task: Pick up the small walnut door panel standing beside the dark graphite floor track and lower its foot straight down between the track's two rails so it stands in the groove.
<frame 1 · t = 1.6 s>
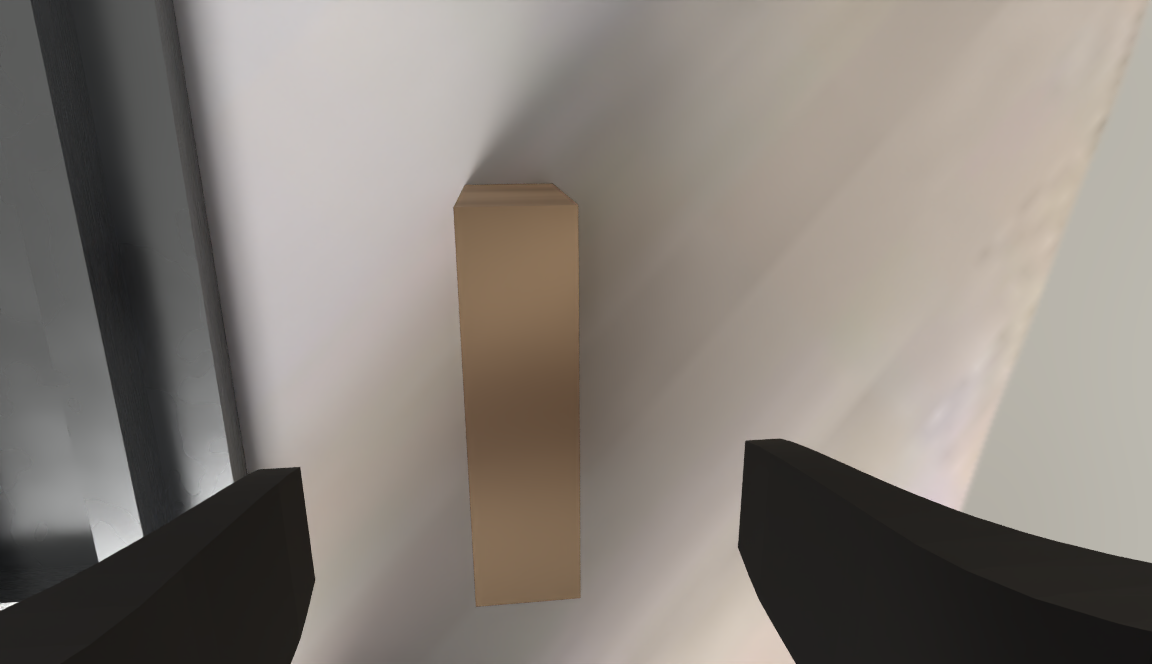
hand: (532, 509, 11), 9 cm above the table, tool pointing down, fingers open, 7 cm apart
door panel: (514, 339, 20), on the table
floor track: (17, 288, 18), on the table
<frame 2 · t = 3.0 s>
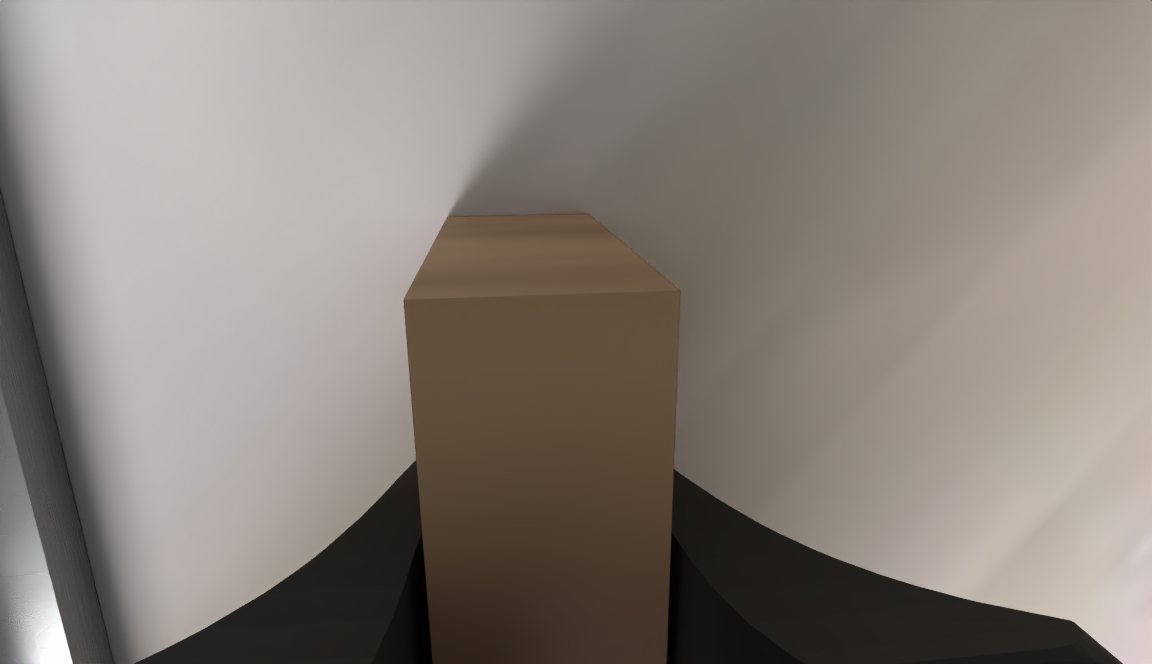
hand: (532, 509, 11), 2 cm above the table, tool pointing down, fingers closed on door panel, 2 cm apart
door panel: (526, 455, 13), on the table, touching gripper
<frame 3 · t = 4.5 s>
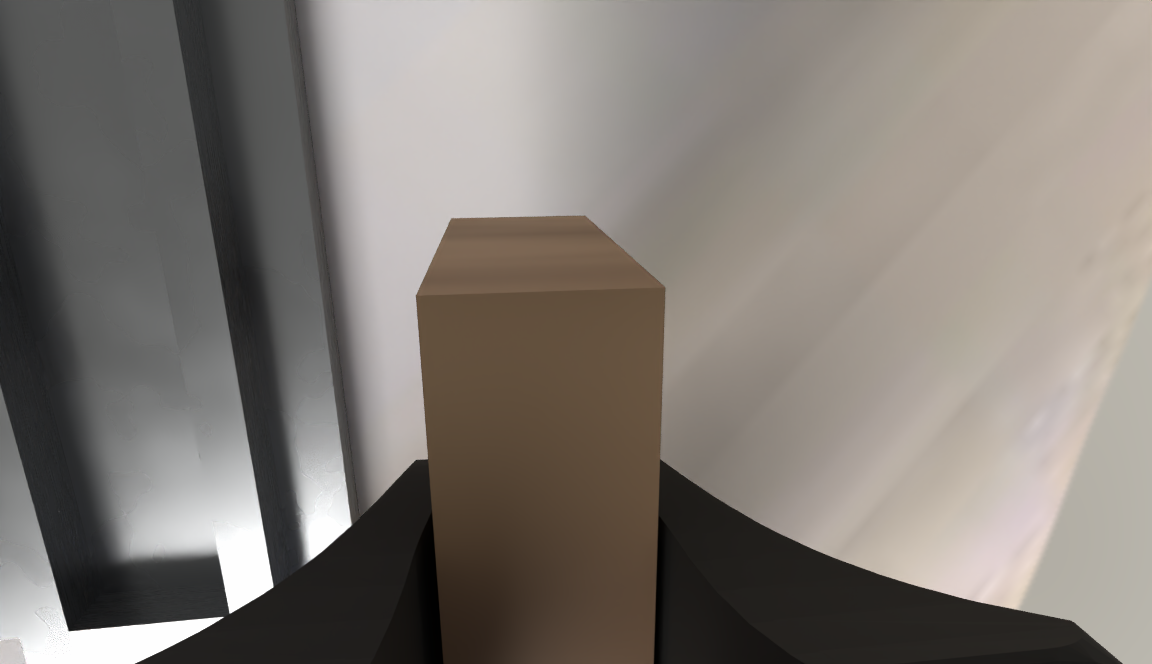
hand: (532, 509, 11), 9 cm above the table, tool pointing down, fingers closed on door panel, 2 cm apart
door panel: (525, 445, 14), point 6 cm above the table, touching gripper
floor track: (137, 311, 18), on the table
when the fingers open (4 cm above the table, at t = 6.1 s): door panel stays where it is, resting on floor track.
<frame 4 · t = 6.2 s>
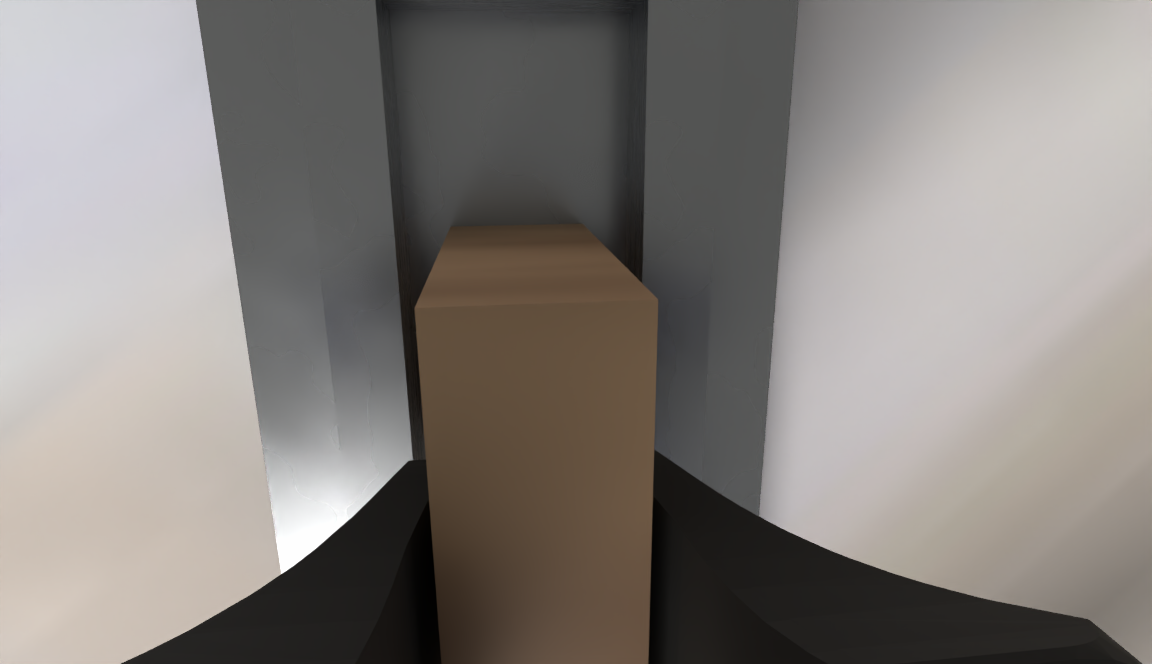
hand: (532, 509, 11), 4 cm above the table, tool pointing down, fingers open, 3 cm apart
door panel: (524, 450, 14), point 1 cm above the table, touching floor track
floor track: (522, 418, 15), on the table
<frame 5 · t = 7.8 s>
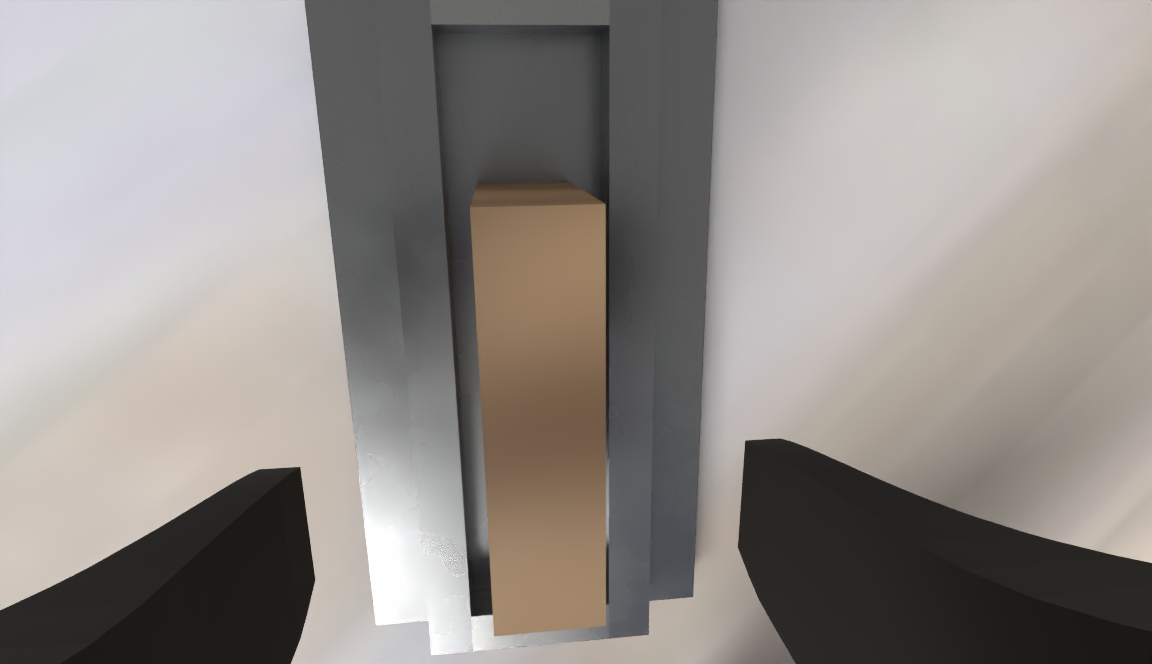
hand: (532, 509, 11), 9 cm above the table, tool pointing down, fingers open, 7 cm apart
door panel: (528, 346, 19), point 1 cm above the table, touching floor track
floor track: (527, 327, 20), on the table
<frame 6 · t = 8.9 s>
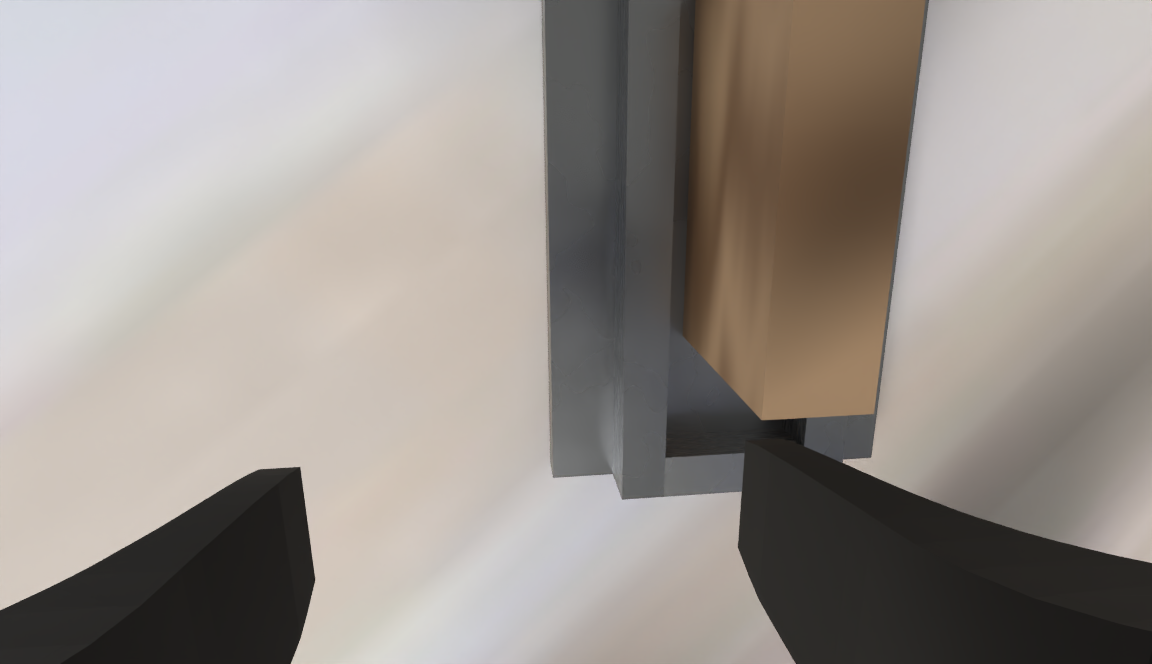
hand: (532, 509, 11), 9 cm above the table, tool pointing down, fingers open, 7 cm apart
door panel: (732, 174, 18), point 1 cm above the table, touching floor track
floor track: (721, 162, 19), on the table
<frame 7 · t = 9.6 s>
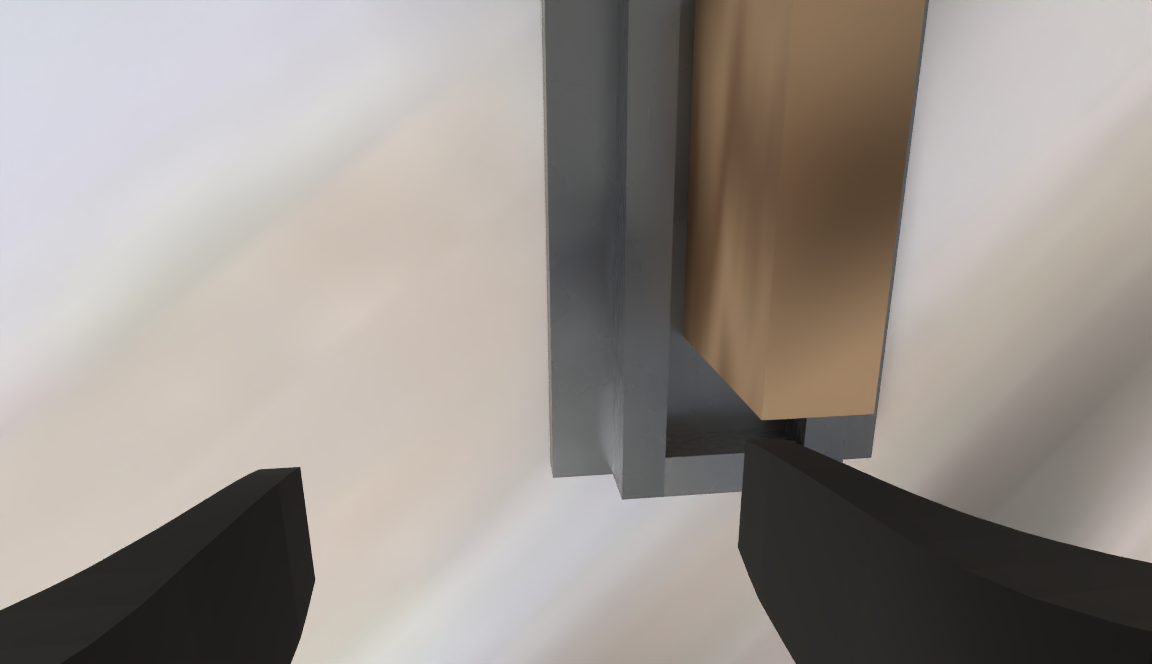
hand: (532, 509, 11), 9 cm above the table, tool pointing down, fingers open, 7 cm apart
door panel: (732, 174, 18), point 1 cm above the table, touching floor track
floor track: (721, 162, 19), on the table
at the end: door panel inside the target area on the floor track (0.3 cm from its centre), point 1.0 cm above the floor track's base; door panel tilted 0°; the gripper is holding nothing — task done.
